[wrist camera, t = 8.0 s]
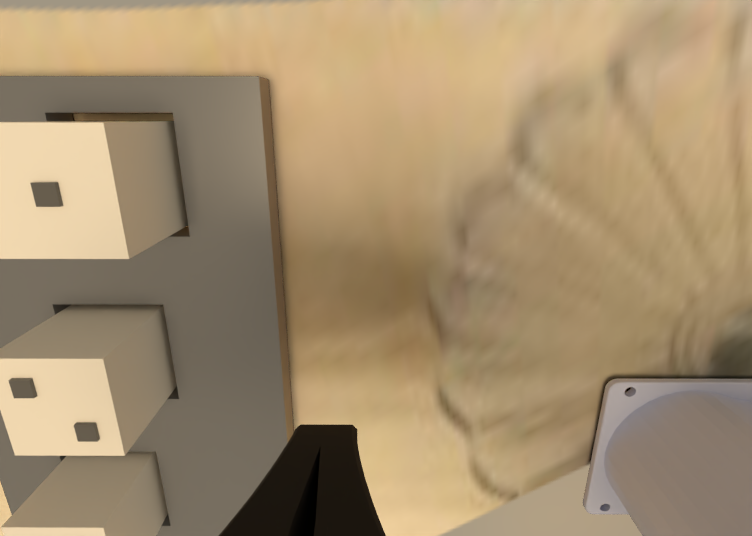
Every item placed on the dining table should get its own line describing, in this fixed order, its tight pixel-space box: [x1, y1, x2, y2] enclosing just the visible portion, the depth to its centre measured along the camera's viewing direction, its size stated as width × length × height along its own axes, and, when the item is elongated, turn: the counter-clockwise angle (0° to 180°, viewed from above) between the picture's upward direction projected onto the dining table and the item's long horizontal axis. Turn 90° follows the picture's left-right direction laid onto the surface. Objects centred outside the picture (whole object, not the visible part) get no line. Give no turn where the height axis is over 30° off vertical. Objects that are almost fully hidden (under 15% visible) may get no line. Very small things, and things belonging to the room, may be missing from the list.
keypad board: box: [0, 76, 294, 536], centre depth 20 cm, size 14×22×2 cm, turn 0°
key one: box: [0, 121, 188, 259], centre depth 15 cm, size 4×4×5 cm
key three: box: [1, 452, 168, 536], centre depth 20 cm, size 4×4×5 cm
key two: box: [0, 304, 177, 456], centre depth 18 cm, size 4×4×5 cm
